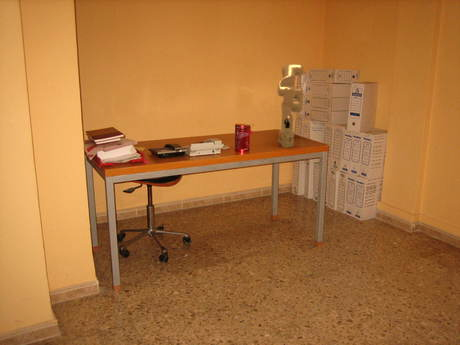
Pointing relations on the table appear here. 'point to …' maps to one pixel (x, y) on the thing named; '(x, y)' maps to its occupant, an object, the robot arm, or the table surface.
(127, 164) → the table surface
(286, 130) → the sage block
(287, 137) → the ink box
